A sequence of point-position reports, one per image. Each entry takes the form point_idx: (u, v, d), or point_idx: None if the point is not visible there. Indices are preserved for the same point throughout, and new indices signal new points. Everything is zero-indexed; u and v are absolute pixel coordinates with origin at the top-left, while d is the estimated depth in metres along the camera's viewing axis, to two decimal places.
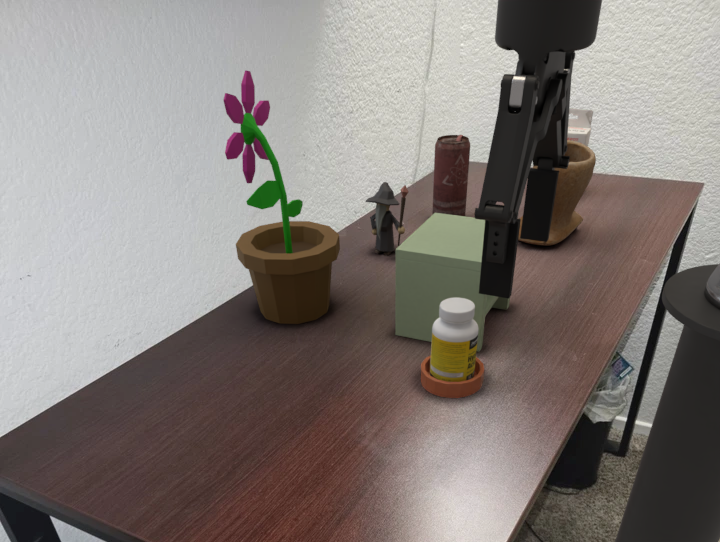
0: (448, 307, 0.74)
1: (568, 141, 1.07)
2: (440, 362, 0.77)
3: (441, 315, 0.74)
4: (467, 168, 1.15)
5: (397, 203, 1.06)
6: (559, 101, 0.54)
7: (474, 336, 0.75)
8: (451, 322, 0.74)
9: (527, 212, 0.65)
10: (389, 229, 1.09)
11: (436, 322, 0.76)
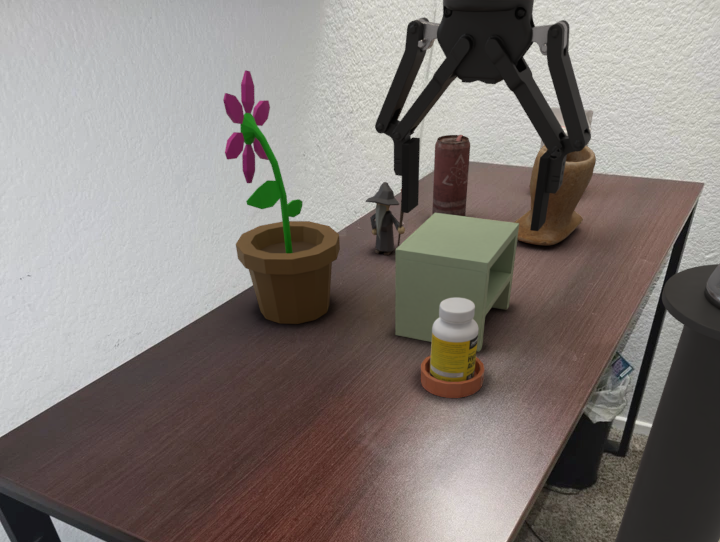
0: (448, 307, 0.74)
1: None
2: (440, 362, 0.77)
3: (441, 315, 0.74)
4: (467, 168, 1.15)
5: (397, 203, 1.06)
6: None
7: (474, 336, 0.75)
8: (451, 322, 0.74)
9: (409, 185, 0.67)
10: (389, 229, 1.09)
11: (436, 322, 0.76)
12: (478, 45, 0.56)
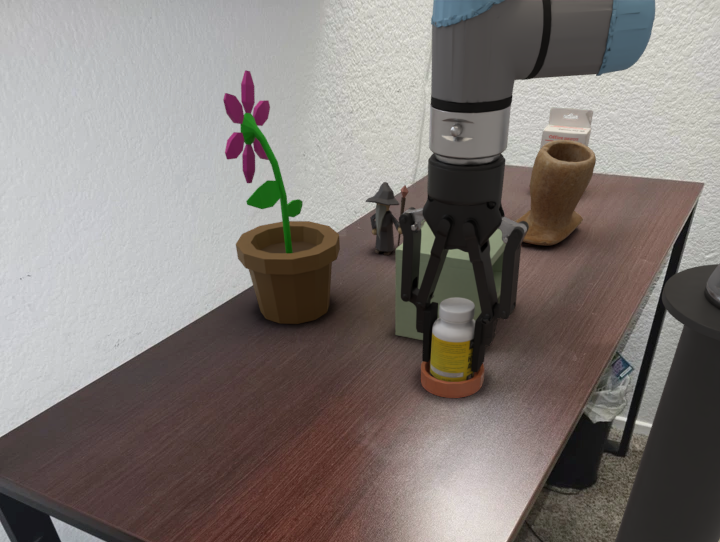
0: (448, 307, 0.74)
1: (568, 141, 1.07)
2: (440, 362, 0.77)
3: (441, 315, 0.74)
4: None
5: (397, 203, 1.06)
6: None
7: None
8: (451, 322, 0.74)
9: (429, 341, 0.78)
10: (389, 229, 1.09)
11: (436, 322, 0.76)
12: (457, 224, 0.68)
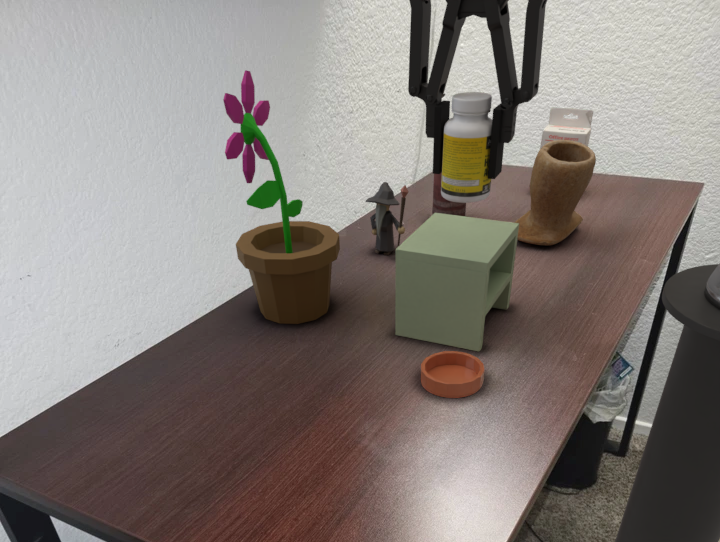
0: (462, 97, 0.66)
1: (568, 141, 1.07)
2: (453, 167, 0.69)
3: (455, 107, 0.66)
4: None
5: (397, 203, 1.06)
6: None
7: None
8: (465, 113, 0.66)
9: (441, 147, 0.70)
10: (389, 229, 1.09)
11: (448, 120, 0.68)
12: None
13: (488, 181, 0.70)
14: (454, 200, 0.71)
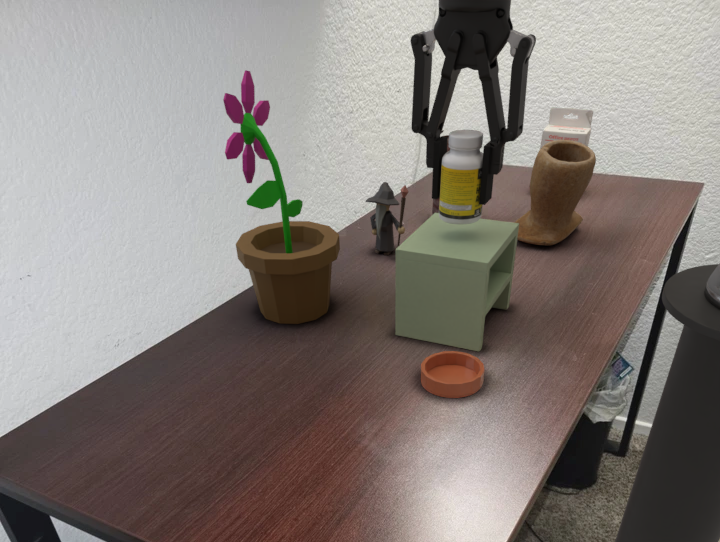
0: (458, 135, 0.77)
1: (568, 141, 1.07)
2: (449, 194, 0.80)
3: (451, 143, 0.77)
4: None
5: (397, 203, 1.06)
6: None
7: None
8: (460, 149, 0.77)
9: (439, 176, 0.81)
10: (389, 229, 1.09)
11: (445, 154, 0.79)
12: (467, 39, 0.70)
13: (479, 206, 0.81)
14: (450, 222, 0.82)
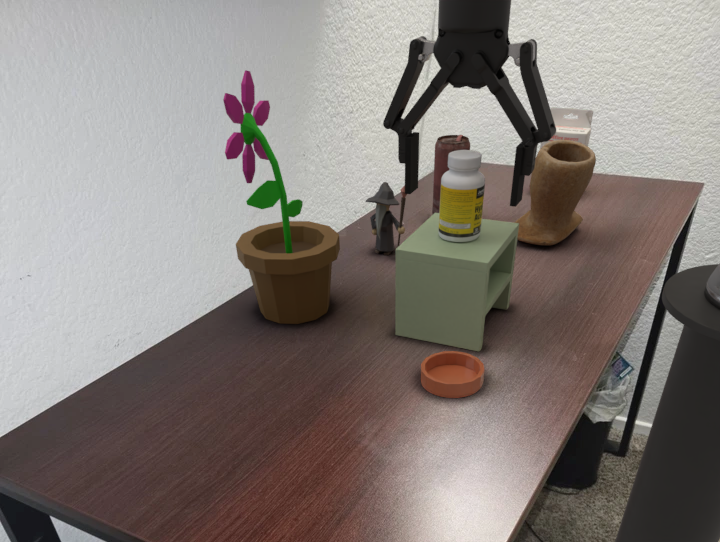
0: (457, 155, 0.78)
1: (568, 141, 1.07)
2: (448, 213, 0.81)
3: (450, 163, 0.79)
4: None
5: (397, 203, 1.06)
6: None
7: (481, 185, 0.79)
8: (459, 169, 0.78)
9: (411, 171, 0.82)
10: (389, 229, 1.09)
11: (445, 173, 0.80)
12: (466, 58, 0.71)
13: (478, 224, 0.83)
14: (449, 240, 0.83)
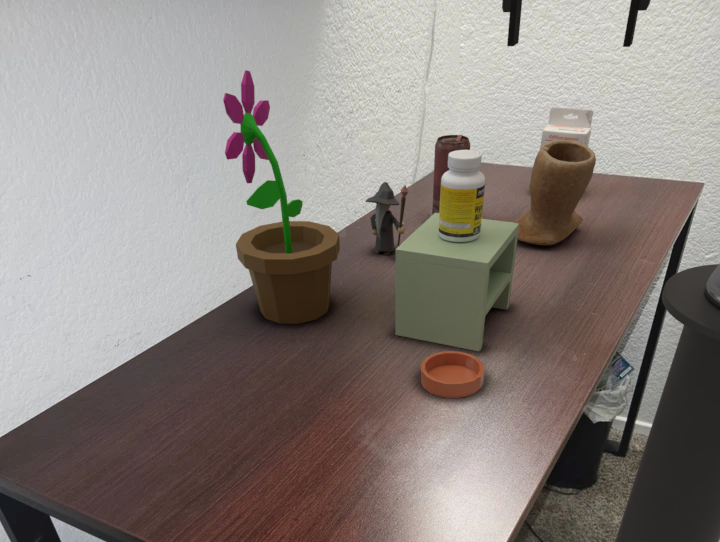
0: (457, 155, 0.78)
1: (568, 141, 1.07)
2: (448, 213, 0.81)
3: (450, 163, 0.79)
4: None
5: (397, 203, 1.06)
6: None
7: (481, 185, 0.79)
8: (459, 169, 0.78)
9: (516, 20, 0.79)
10: (389, 229, 1.09)
11: (445, 173, 0.80)
12: None
13: (478, 224, 0.83)
14: (449, 240, 0.83)
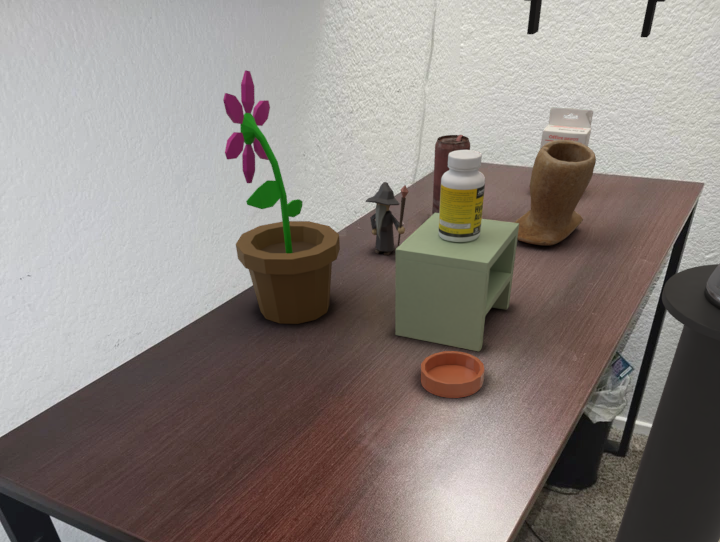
0: (457, 155, 0.78)
1: (568, 141, 1.07)
2: (448, 213, 0.81)
3: (450, 163, 0.79)
4: None
5: (397, 203, 1.06)
6: None
7: (481, 185, 0.79)
8: (459, 169, 0.78)
9: (536, 8, 0.81)
10: (389, 229, 1.09)
11: (445, 173, 0.80)
12: None
13: (478, 224, 0.83)
14: (449, 240, 0.83)
